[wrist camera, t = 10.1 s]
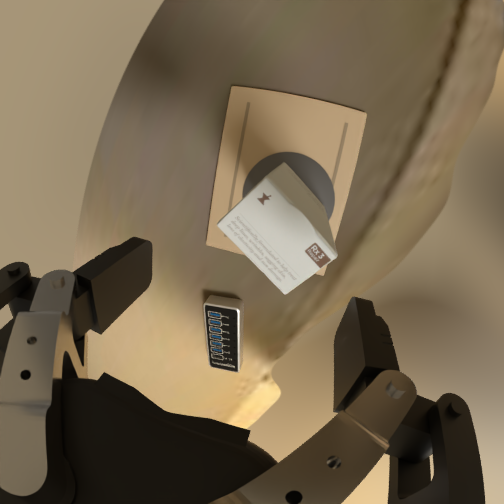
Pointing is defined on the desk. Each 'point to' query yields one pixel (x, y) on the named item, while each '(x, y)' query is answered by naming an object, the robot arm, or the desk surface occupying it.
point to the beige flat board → (284, 151)
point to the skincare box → (281, 229)
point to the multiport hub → (224, 332)
